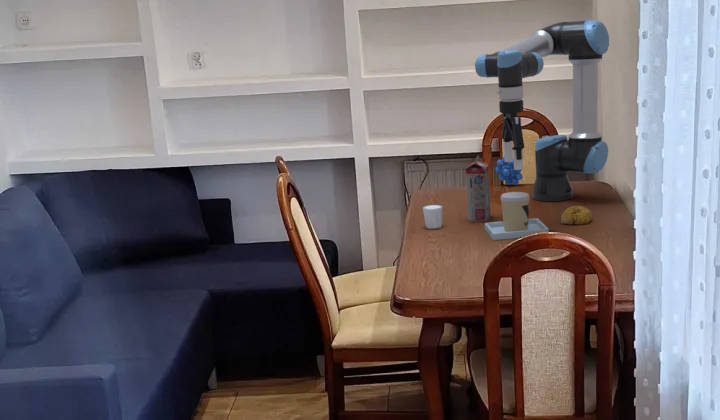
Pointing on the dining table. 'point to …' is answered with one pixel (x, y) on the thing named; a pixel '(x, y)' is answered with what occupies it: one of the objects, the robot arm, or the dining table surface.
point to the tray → (499, 233)
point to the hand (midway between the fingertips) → (513, 165)
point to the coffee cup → (515, 211)
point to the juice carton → (478, 191)
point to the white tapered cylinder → (433, 216)
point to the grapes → (508, 172)
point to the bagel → (576, 215)
